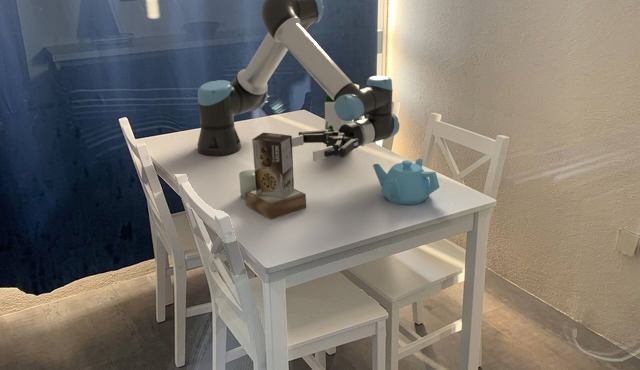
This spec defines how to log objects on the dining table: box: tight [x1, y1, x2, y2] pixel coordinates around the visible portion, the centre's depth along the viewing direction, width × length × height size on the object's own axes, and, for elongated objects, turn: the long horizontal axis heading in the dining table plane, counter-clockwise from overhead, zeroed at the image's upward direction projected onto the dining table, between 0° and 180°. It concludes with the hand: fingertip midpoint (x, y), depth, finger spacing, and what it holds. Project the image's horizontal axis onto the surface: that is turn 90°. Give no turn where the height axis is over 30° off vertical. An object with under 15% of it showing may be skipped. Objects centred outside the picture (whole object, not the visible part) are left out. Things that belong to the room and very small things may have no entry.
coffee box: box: [251, 132, 295, 198], centre depth 173 cm, size 9×6×16 cm
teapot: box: [372, 158, 440, 206], centre depth 180 cm, size 15×15×11 cm
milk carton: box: [324, 93, 353, 149], centre depth 216 cm, size 9×9×20 cm
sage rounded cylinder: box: [238, 169, 256, 201], centre depth 183 cm, size 6×6×7 cm
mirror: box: [245, 188, 307, 220], centre depth 176 cm, size 12×12×4 cm
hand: (298, 150), depth 177 cm, fingers open, 13 cm apart
